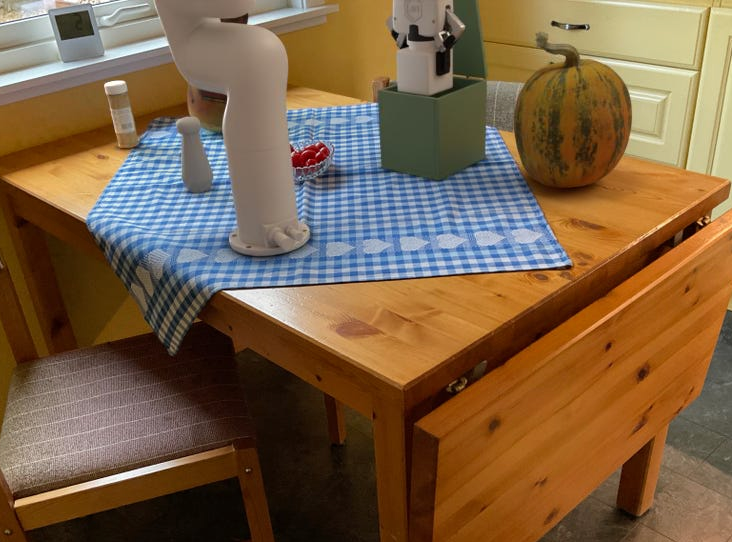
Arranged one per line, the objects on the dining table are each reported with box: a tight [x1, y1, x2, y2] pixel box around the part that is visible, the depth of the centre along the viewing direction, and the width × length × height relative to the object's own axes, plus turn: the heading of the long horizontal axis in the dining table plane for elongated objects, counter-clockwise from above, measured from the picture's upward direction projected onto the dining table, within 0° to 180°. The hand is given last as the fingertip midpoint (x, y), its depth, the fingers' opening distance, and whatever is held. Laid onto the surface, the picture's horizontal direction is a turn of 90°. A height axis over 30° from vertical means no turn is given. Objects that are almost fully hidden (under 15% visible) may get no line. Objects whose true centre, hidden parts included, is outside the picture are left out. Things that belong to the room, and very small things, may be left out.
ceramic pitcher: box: [186, 12, 249, 133], centre depth 173 cm, size 20×20×30 cm
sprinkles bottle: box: [103, 80, 140, 149], centre depth 170 cm, size 5×5×13 cm
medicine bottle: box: [396, 24, 454, 96], centre depth 138 cm, size 7×7×12 cm
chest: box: [376, 75, 488, 182], centre depth 147 cm, size 15×14×14 cm
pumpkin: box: [513, 30, 633, 189], centre depth 131 cm, size 19×19×25 cm
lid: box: [442, 0, 489, 80], centre depth 143 cm, size 15×14×6 cm
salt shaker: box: [175, 116, 214, 194], centre depth 144 cm, size 6×6×13 cm
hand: (424, 71), depth 140 cm, fingers closed on medicine bottle, 7 cm apart
